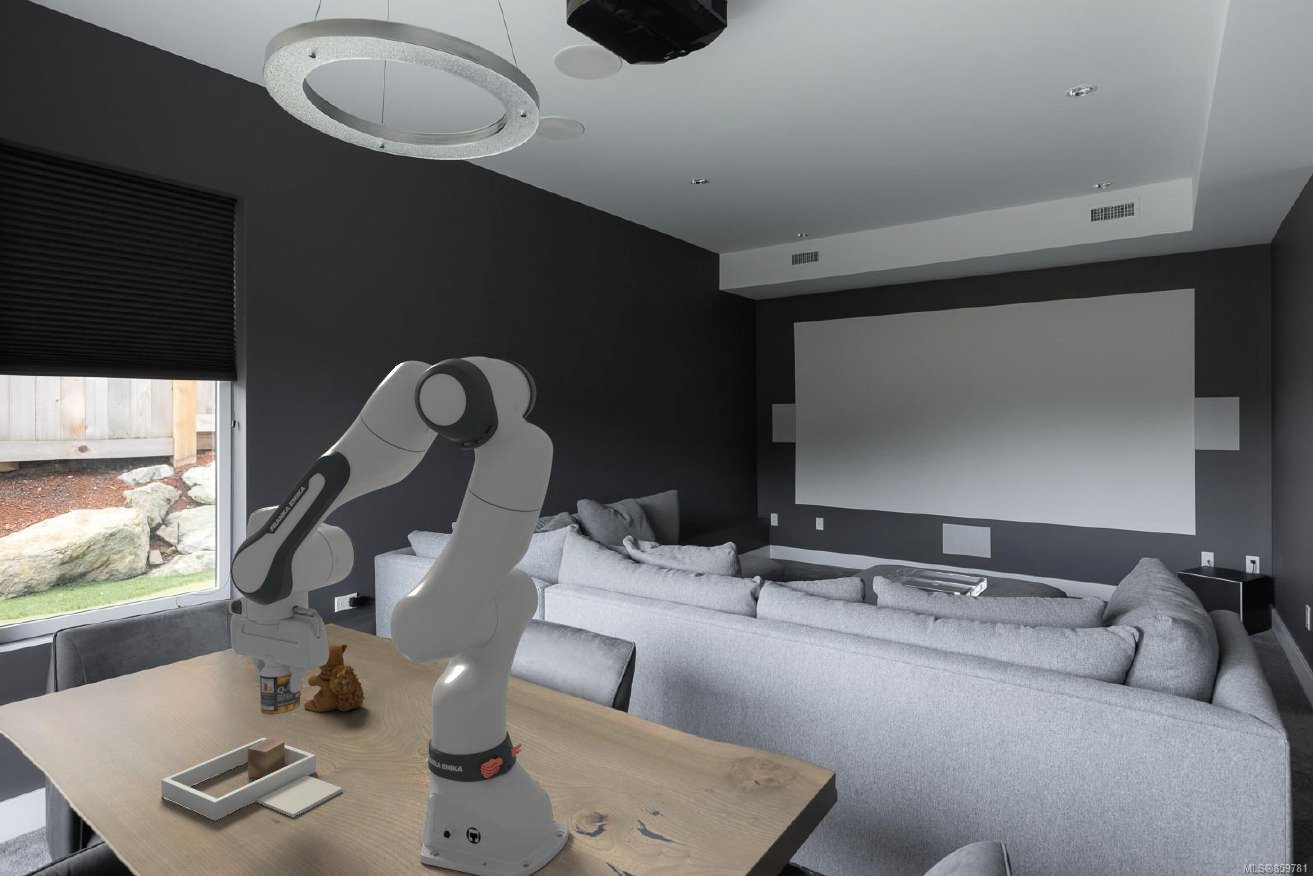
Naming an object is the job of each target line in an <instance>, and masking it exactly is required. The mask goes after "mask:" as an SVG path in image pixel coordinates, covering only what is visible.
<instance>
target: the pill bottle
mask: <svg viewBox="0 0 1313 876" xmlns="http://www.w3.org/2000/svg"><path fill="white" fill-rule="evenodd" d="M263 662H264V664H265V667H264V668H263V669H262V670H261V673H260V684H259V685H260V690H259V691H260V693H259V694H260V713H261V716H262V717H264V718H267V719H280V718H285V717H289V716H291V715H293V714H296V713H297V712H298V711H299V710H300V707H301V690H300V691H298V692H295V693H294V692H290V691H287V682H286V681H288V680H290V679H291V675H292V672H290V666H288V665H283V664H278V663H276V661H275V657H272V656H267V655H264V657H263Z"/></svg>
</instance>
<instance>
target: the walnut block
mask: <svg viewBox="0 0 1313 876" xmlns="http://www.w3.org/2000/svg"><path fill="white" fill-rule="evenodd" d="M285 745H286V744H285V741H280V740H276V739H275V740H274V739H271V738H270V739H269V738H267V739H265V740H263V741H261V742H260V743H258V744H256V745H254V746H252V747H250V748H248V763H247V777H248V776H251V777H250V778H252V777H254V778H253V779H257V778H263V777H265V776H267V775H269V774H271V773H273V772H275V771H278V770H280V769H282V768H284V767H286V764H285Z"/></svg>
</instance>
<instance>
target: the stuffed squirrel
mask: <svg viewBox="0 0 1313 876" xmlns="http://www.w3.org/2000/svg"><path fill="white" fill-rule="evenodd" d="M328 648H329V659H328V661H327V663H326V664H325V665H323V666H320V667H318V668H319V670H320V672H319V673H318V674H313V675H310V676H309V678H308V681H307V683H308V685H309V687H320V689H319V690H318V691H317V693H315V694H314V695H313V697H312V699H310V700H308V701H306V702H305V703H304V704H303V707H304V709H306V710H308V711H313V712H316V713H323V712H331V711H335V710H338V711H340V712H349V711H352V710H356V709H357V708H359V707H360V706H362V705H363V702H364V700H365V699H366V697H365V696H364V694H365V693H364V688H363V686H362V683H361V682H360V681H359V677H358V675H357V674H356V673H355V668H353V667H352V666H351V665H349V664H348V665H346V664H345V662H344V660H345V659H344V653H346V650H347V648H348V644H347V643H343V644H341V645H340V644H339V645H338V644H334V643H333V644H328Z"/></svg>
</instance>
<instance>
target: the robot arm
mask: <svg viewBox="0 0 1313 876" xmlns="http://www.w3.org/2000/svg"><path fill="white" fill-rule="evenodd" d="M536 388H537V387H536V383H535V380H534V379H533V376H532V375H531V373H530V372H529V371H528V370H527V369H526V368H525V367H524V366H522V365H521V364H519V363H517V362H515V361H513V360H510V359H507V358H489V357H486V356H467V357H461V358H448V359H444V360H441V361H440V362H437V363H435V364H434V365H432V364H430V363H426V362H424V361H418V360H407V361H404V362H401V363H400V364H398V365H396V366H395V367H394V368H393V369H392V370H391V371H390V372H389V374H387V375H386V377H384V379H383V380H382V382H380V383H379V385H378V386H377V387H376V388H375V390H374V391H373V392H372V394H371V395H370V397H369V398H368V399H367V402H366V403H365V404H364V406H363V407H362V409H361V411H360V412H359V414H358V416H357V417H356V419H355V420H354V421H353V422H352V424H351V425H350V426H349V428H348V429H347V430H346V431H345V432H344V434H343V435H342V436H341V437H340V438H339V439H338V440H337V441H336V442H335V443H334V445H332V446H331V447H330V448H329V449H328V450H327V451H326V452H324V453H323V454H321V456H320V457H319V458H317V460H315V461H314V462H313V463H312V464H311V465H310V466H309V467H308V469H306V471H305V472H304V473H303V474H302V476H301V477H300V478H299V479H298V481H296V483H295V484H294V486H293V487H292V488H291V489H290V491H289V492H288V494H287V495H286V496H285V497H284V498H283V500H282V502H280V503H279V505H274V506H268V507H263V508H260V509H256V510H255V511H253V512H251V514H250V515H249V518H248V522H247V527H246V535H245V539H244V540H243V542H241V544H240V546H239V547H238V549H237V550H236V552H235V554H234V557H233V559H232V563H231V567H230V577H231V581H232V583H233V585H234V588H236V589H237V591H238V592H239V593H240V595H242V596H239V597H236V598H234V599H230V600H229V601H228V606H227V607H228V611H229V613H230V614H231V617H230V627H229V629H230V642H231V643H230V645H231V648H232V650H233V652H234V653H235V655H238V656H243V657H245V658H246V657H248V658H251V659H252V661H253V667H254V668H255V670H256V672H257V674H258V683H259V685H260V673H261V670H262V669H263V668H264V667H265V664H264V662H263V657H264V655H267V656H272V657H275V661H276V663H278V664H283V665H288V666H290V672H292V675H291V679H290V680H288V681H286V682H287V691H290V692H294V693H295V692H298V691H300V692H301V691H302V689H303V679H304V677H305V674H306V673H307V671H311V670H314V669H317V668H319V667H320V666H323V665H325V664H326V663H327V661H328V659H329V648H328V645H329V640H328V634H327V628H326V624H325V622H324V621H323V618H322V616H320V614H319V613H318V612H317V610H316V609H314V608H309V592H310V591H311V592H312V591H315V590H317V589H320V588H321V589H322V588H323V587H327V586H331V585H334V584H337V583H340V582H341V581H343V580H346V578H348V576H350V575H351V573H352V572H353V570H354V567H355V565H356V564H355V563H356V558H357V557H356V555H357V554H356V553H357V552H356V546H355V542H354V540H353V539H352V536H351V535H350V533H348V532H347V531H346V530H345V529H344V528H342V527H339V526H336V525H335V526H334V525H330V524H328V523H324V521H326V519H327V518H328V516H330V514H332V512H334V511H335V510H336V509H337V508H339V507H341V506H342V505H344V504H346V503H348V502H349V501H351V500H353V499H356V498H359V497H361V496H363V495H366V494H368V493H371V492H373V491H377V490H380V489H382V488H383V489H384V488H387V487H389V486H392V485H394V484H395V485H396V484H397V483H400V482H401V481H402V480H404V479H406V477H408V476H409V475H410V474H411V472H412V471H413V470H414V469H415V468H416V467H418V465H419V464H420V462H421V461H422V460H423V458H424V457H425V455H426V453H427V452H428V450H429V448H430V447H431V446H432V444H433V442H434V441H435V439H436V437H437V436H438V435H440V436H442V437H445V438H446V439H448V440H449V441H450V442H451V443H453V444H454V445H455V446H456V447H458V448H459V449H461V450H463V451H471V450H474V456H475V460H474V463H473V469H472V472H471V475H470V478H469V480H468V484H467V487H466V491H465V494H464V497H463V500H462V504H461V507H460V509H459V513H458V517H457V519H456V520H455V521H456V522H455V524H454V528H453V531H452V532H451V534H450V537H449V538H448V540H447V542H446V544H445V546H444V547H443V549H442V550H441V552H440V554H438V556H437V558H436V559H435V561H434V562H433V564H432V565H431V566H430V568H429V569H428V571H427V572H426V574H425V575H424V576H423V577H422V579H421V580H420V581H419V582H418V583H417V584H416V585H415V586H414V587H413V589H412V588H411V590H410V591H409V592H408V593H406V595H404V596H403V597H402V598H400V599H399V600H398V601H397V602H396V604H395V605H394V607H393V610H392V612H391V614H390V615H391V616H390V621H389V632H390V637H391V640H392V643H393V645H394V647H395V648H396V650H397V652H398V653H399V654H400V655H401V656H402V657H403V658H405V659H406V660H407V661H408V662H410V663H414V664H427V663H435V662H441V661H447V660H449V662H448V664H447V667H446V668H445V670H444V671H443V672H442V673H441V675H440V676H439V677H438V679H437V680H436V682H435V684H434V686H433V689H432V691H431V704H430V705H431V707H430V708H431V709H430V710H431V711H430V712H431V717H430V718H431V728H430V729H431V737H430V739H429V741H428V752H427V761H428V762H427V763H428V766H427V768H428V770H429V771H430V776H429V777H430V778H429V787H428V795H427V803H426V810H425V815H424V820H423V824H422V827H421V830H420V833H419V840H420V844H421V849H420V854H419V855H420V856H419V861H420V863H422V864H425V865H429V866H430V865H431V866H435V867H439V868H443V869H444V868H445V869H449V870H452V871H458V872H463V873H467V874H472V875H477V876H530V875H532V874H534V873H535V872H537V871H539V870H540V869H541V868H543V867H544V866H545V865H547V863H549V862H551V860H553V858H555V857H556V856H557V855H558V854H559V853H560V851H562V849H563V848H564V847H565V845H566V843H567V842H568V838H569V835H570V830H569V825H568V824H567V823H565V822H563V821H561V820H560V819H557V818H556V817H554V813H553V806H552V805H553V804H552V801H551V798H550V795H549V794H548V792H547V791H546V789H545V790H544V788H543V787H542V786H541V784H540V782H539V781H538V780H537V779H536V778H533V777H532V775H530V774H529V772H527V770H526V769H525V768H524V767H523V766H522V765H521V764H520V762H518V761H517V754H520V752H522V749H521V747H522V743H520V744H518V745H516V746H513V742H512V739H511V736H510V733H509V732H508V730H507V725H508V724H507V721H508V719H507V717H508V692H509V691H508V689H509V681H510V676H511V672H512V667H513V664H514V660H515V657H516V653H517V650H518V648H519V645H520V641H521V639H522V637H523V635H524V632H525V630H526V628H527V626H528V625H529V623H530V621H532V619H533V618H534V617H535V614H536V613H537V611H538V607H539V593H538V588H537V586H536V582H534V580H533V578H532V577H531V576H530V575H529V573H527V572H525V570H523V569H521V568H517V567H516V566H517V565H518V564H520V562H522V560H523V559H524V557H525V555H527V552H528V551H529V548H530V545H531V542H532V539H533V536H534V532H535V529H536V527H537V523H538V520H539V518H540V514H541V511H542V508H543V505H544V501H545V497H546V495H547V490H548V486H549V482H550V476H551V472H552V465H553V457H554V455H553V454H554V444H553V442H552V439H551V438H550V437H549V435H548V433H546V431H544V429H542V428H540V427H539V426H537V425H535V424H533V423H531V422H529V421H527V420H526V418H527V417H528V415H530V413H531V412H532V410H533V408H534V406H535V403H536V399H537V389H536Z"/></svg>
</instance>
